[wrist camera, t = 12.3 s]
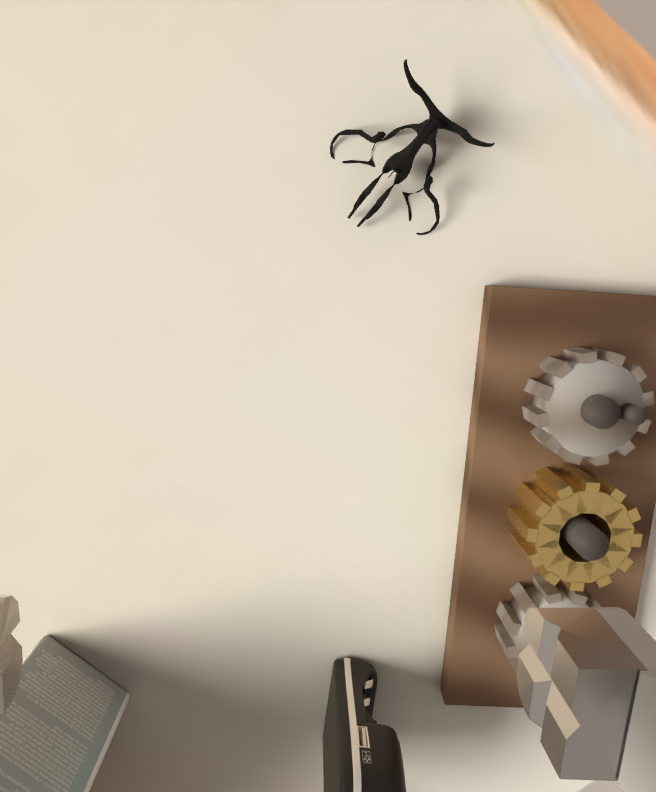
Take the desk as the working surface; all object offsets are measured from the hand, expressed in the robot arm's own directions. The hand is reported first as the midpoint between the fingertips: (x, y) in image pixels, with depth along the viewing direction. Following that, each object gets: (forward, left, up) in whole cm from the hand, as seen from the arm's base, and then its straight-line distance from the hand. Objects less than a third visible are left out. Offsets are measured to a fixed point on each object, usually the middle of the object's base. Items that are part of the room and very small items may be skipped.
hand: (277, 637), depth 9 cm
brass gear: (+8, +17, -26) cm, 32 cm away
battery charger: (+23, +5, -28) cm, 36 cm away
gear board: (+8, +17, -28) cm, 33 cm away
